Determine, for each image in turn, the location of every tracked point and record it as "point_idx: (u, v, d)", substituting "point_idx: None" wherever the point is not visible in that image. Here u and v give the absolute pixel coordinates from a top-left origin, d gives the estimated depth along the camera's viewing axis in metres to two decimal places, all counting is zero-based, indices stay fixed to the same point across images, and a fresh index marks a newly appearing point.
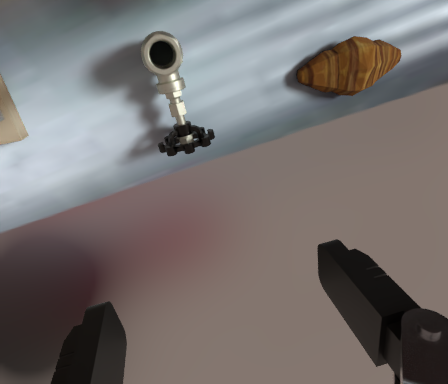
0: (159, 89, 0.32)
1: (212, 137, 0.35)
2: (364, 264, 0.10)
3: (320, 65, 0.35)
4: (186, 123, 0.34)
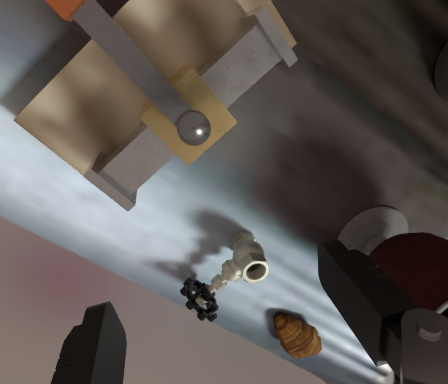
0: (226, 269, 0.40)
1: (213, 312, 0.43)
2: (364, 264, 0.10)
3: (291, 327, 0.50)
4: (213, 295, 0.41)
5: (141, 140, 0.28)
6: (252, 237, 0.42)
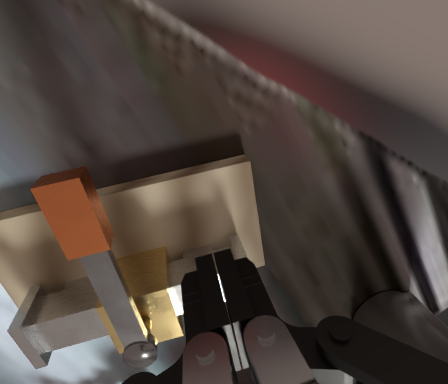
0: None
1: None
2: (247, 272, 0.11)
3: None
4: None
5: (87, 315, 0.27)
6: None
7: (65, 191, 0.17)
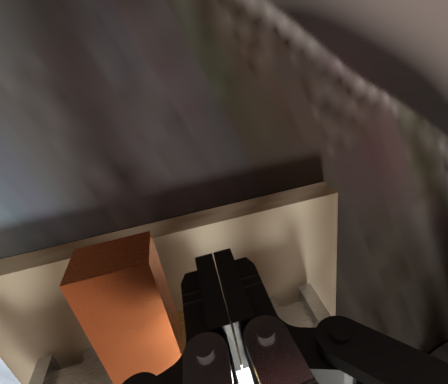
0: None
1: None
2: (247, 272, 0.11)
3: None
4: None
5: None
6: None
7: (122, 286, 0.09)
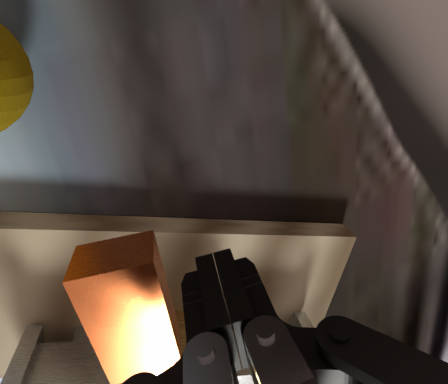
0: None
1: None
2: (246, 272, 0.11)
3: None
4: None
5: None
6: None
7: (125, 284, 0.09)
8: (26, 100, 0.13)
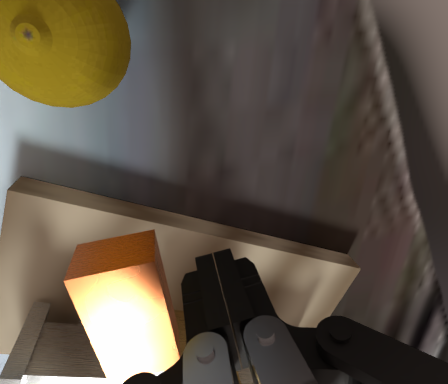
0: None
1: None
2: (246, 272, 0.11)
3: None
4: None
5: None
6: None
7: (126, 283, 0.09)
8: (120, 80, 0.14)
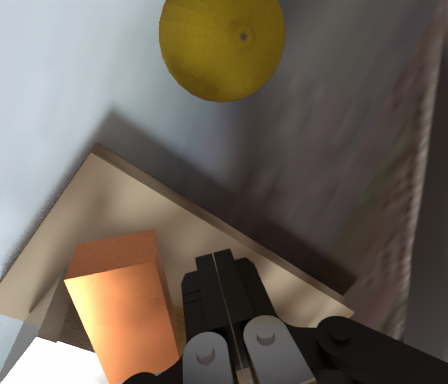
0: None
1: None
2: (246, 272, 0.11)
3: None
4: None
5: None
6: None
7: (126, 283, 0.09)
8: None
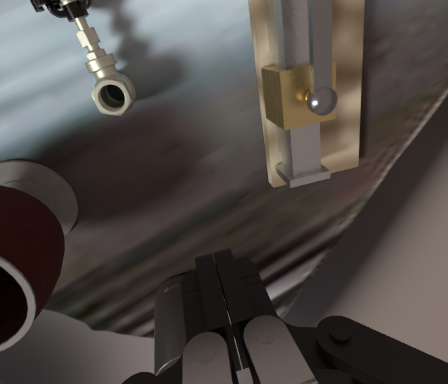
0: (111, 59, 0.30)
1: (32, 1, 0.27)
2: (247, 272, 0.11)
3: None
4: (72, 19, 0.28)
5: None
6: None
7: None
8: None
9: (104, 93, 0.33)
